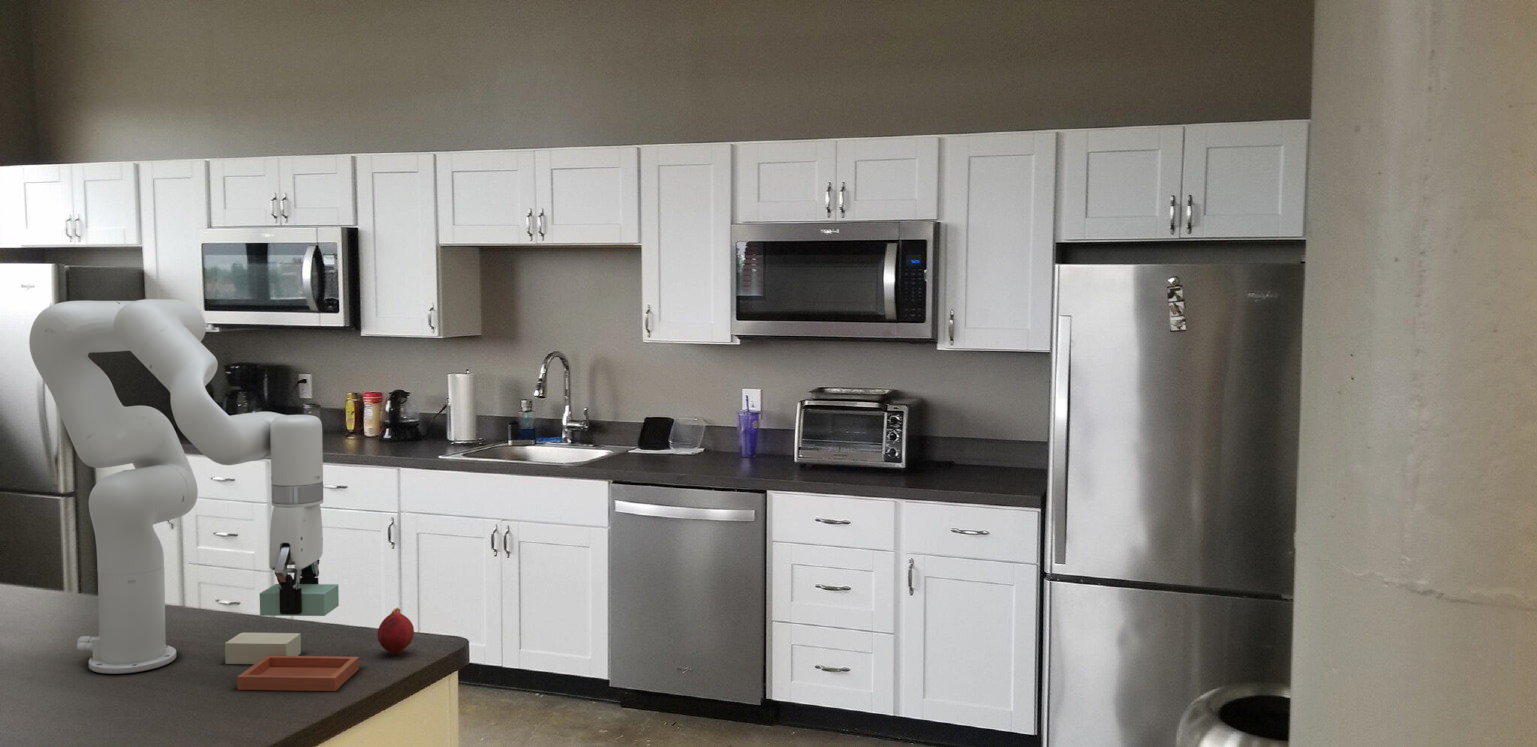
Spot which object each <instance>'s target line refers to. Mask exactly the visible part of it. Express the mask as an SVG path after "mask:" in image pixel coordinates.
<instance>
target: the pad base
mask: <svg viewBox="0 0 1537 747" xmlns="http://www.w3.org/2000/svg"><path fill="white" fill-rule="evenodd" d="M299 588H301V589H302V612H301V613H300V614H280V597H279V589H278V583H275V584H273V585H272V586H270V587H268V588H267V589H264V590H262V591H261V592H260V593H259V616H260V617H261V616H264V617H265V616H267V617H268V616H269V617H272V616H273V617H275V616H276V617H277V616H278V617H287V616H288V617H325V616H327V615H328V614H330V613H331V612H332V611H333V610H335V609H336V608H338V607H339V605H340V604H339V602H340V601H339V597H340V596H339V595H340V594H339V593H340V592H339V584H336V583H333V584H332V583H327V584H326V583H319V584H299Z"/></svg>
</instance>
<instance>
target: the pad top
mask: <svg viewBox="0 0 1537 747" xmlns="http://www.w3.org/2000/svg"><path fill="white" fill-rule="evenodd" d="M301 635H302V634H301V633H300V632H240V633H238V634H236V635H235V636H234V637H232V638H231V639H229V640H228V641H225V643H224V664H225V665H254V664H256V663H257V662H258V661H260V660H261V659H262V658H264V657H265V656H301V654H302V649H301V648H302V637H301Z"/></svg>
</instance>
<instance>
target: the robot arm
mask: <svg viewBox="0 0 1537 747" xmlns="http://www.w3.org/2000/svg"><path fill="white" fill-rule="evenodd" d="M206 326H207V325H206V321H205V318H204V315H203V314H202V312H201V311H200V310H199V309H198V307H197V306H195V305H194V304H192V303H191V302H189V301H188V300H187V301H186V300H183V299H175V298H173V299H171V298H168V299H167V298H146V299H145V298H144V299H138V300H68V301H62V302H58V303H54V304H52V305H49V306H47V307H46V308H44V309H42V310H41V311H40V312H39V313H38V314H37V316H36V318H35V319H34V321H33V323H32V324H31V328H30V332H29V338H28V340H29V341H28V344H29V352H30V355H31V359H32V362H33V364H34V365H35V368H36V370H37V372H38V374H39V375H40V377H41V379H42V380H43V382H44V384H45V385H46V387H47V389H48V390H49V392H50V394H51V396H52V398H53V401H54V403H55V405H56V408H57V410H58V413H59V415H60V418H61V420H62V423H63V425H64V426H65V430H66V432H67V434H68V436H69V439H70V441H71V443H72V446H73V448H74V450H75V452H76V455H78V458H79V459H80V460H81V461H82V463H83V464H85V465H86V466H87V467H90V468H95V469H104V468H112V467H119V466H124V465H129V464H132V465H133V469H127V470H122V471H118V472H114V473H111V474H109V475H107V476H105V477H103V478H102V479H100V480H99V481H98V482H96V484H95V485H94V486H93V488H92V489H91V491H90V494H89V497H88V511H89V516H90V519H91V524H92V527H93V528H92V529H93V532H94V538H95V547H96V561H97V562H96V566H97V598H98V604H97V605H98V636H92V635H90V636H89V635H81V636H79V637H78V639H77V643H76V651H77V652H91V653H92V656H91V657H90V658H89V660H88V669H89V670H90V671H92V672H96V673H99V674H106V675H120V674H121V675H122V674H132V673H140V672H145V671H150V670H155V669H158V668H161V667H165V666H166V665H168V664H170V663H172V662H173V661H174V660H176V658H177V649H176V648H175V647H173V646H171V645H168V644H167V641H166V639H167V637H166V583H165V582H166V581H165V578H166V577H165V554H164V549H163V544H162V543H161V540H160V538H159V536H158V535H157V533H156V530H155V529H154V525H157V524H160V523H165V522H168V521H171V520H175V519H178V518H181V517H183V516H186V515H187V514H188V513H189V512H191V510H193V509H194V507H195V505H196V503H197V500H198V493H199V492H198V491H199V490H198V483H197V479H196V476H195V473H194V472H193V469H192V467H191V465H190V462H189V459H188V458H187V455H186V453H185V451H184V448H183V446H182V444H181V442H180V438H179V436H178V433H177V432H176V430H175V428H174V426H173V424H172V423H171V421H170V419H169V418H168V417H167V416H166V415H165V414H164V413H163V412H162V411H160V410H159V409H158V408H155V407H152V406H148V405H132V406H131V405H129V406H124V404H123V403H122V402H121V401H120V399H119V397H118V395H117V393H116V391H115V388H114V386H113V384H112V381H111V380H110V377H108V375H107V374H106V373H105V371H104V370H103V369H102V368H101V367H100V366H98V365H97V364H96V363H95V362H94V361H93V360H92V359H90V357H89V353H91V354H93V353H112V352H113V353H115V352H131V354H133V355H134V357H136V358H137V359H138V361H139V362H141V364H142V365H144V367H145V368H146V369H147V370H148V371H149V372H150V373H151V374H152V375H153V376H154V377H155V378H156V379H157V380H158V382H160V383H161V384H162V385H163V387H165V388H166V390H168V392H169V393H170V400H169V401H170V407H171V412H172V415H173V419H174V422H175V424H176V425H177V428H178V429H179V431H180V432H181V433H182V434H183V436H184V437H185V438H186V439H187V440H188V441H189V442H191V444H192V445H193V446H194V447H195V448H196V449H197V450H198V451H199V452H200V453H201V454H203V456H204V457H206V458H208V459H209V460H211V461H212V462H214V463H216V464H218V465H221V466H235V465H240V464H245V463H249V462H255V461H261V460H266V459H270V481H271V482H270V484H271V485H270V490H271V491H270V493H271V494H270V495H271V507H272V513H271V520H270V529H269V530H270V531H269V555H268V556H269V557H268V558H269V559H268V561H269V562H268V565H269V568H270V570H272V571H273V572H274V575H275V577H276V580H277V584H278V589H279V597H280V614H300V613H301V612H302V589H301V588H299V584H320V583H319V576H320V568H319V565H320V562H321V560H320V559H321V557H322V556H323V550H324V548H323V547H324V535H323V534H324V533H323V520H322V509H321V508H322V507H321V504H323V503H324V465H323V464H324V456H323V455H324V454H323V453H324V452H323V448H324V446H323V423H322V421H321V419H320V418H319V417H318V416H315V415H312V414H311V415H310V414H283V413H278V412H273V411H256V412H255V411H254V412H247V413H240V414H232V415H229V414H228V413H227V412H226V411H225V410H224V409H223V408H222V407H221V406H220V405H219V404H217V402H215V400H214V399H213V398H212V397H211V395H210V394H209V392H208V391H207V388H206V386H207V385H208V384H209V383H210V382H211V380H212V379H213V378H214V377H215V375H216V372H217V371H218V368H219V367H218V366H219V363H218V360H217V358H216V356H215V355H214V354H213V353H212V352H211V351H210V350H209V349H208V348H207V347H206V346H205V345H204V344H203V342H202V341H203V339H204V337H205V336H206V330H207V328H206ZM288 566H294V567H288ZM292 574H293V576H292Z"/></svg>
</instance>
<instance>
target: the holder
mask: <svg viewBox="0 0 1537 747" xmlns="http://www.w3.org/2000/svg"><path fill="white" fill-rule="evenodd" d="M359 670H360V657H359V656H338V655H337V656H331V655H298V656H265V657H264V658H262V659H261V660H260V661H258V662H257V663H256V664H252V665H251V666H250V667H248V668H247V669H246V670H244V671H243V672H242V673H240V674H239V675H238V676H237V677H236V678H237V681H236V682H237V686H236V687H237V690H238V691H289V692H290V691H293V692H294V691H299V692H302V691H303V692H336V691H337V690H339V688H340V687H342V685H344V684H345V683H346V682H347V681H348V680H349V679H350V678H351V677H352V676H353V675H355V674H356V673H357V672H358V671H359Z"/></svg>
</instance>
